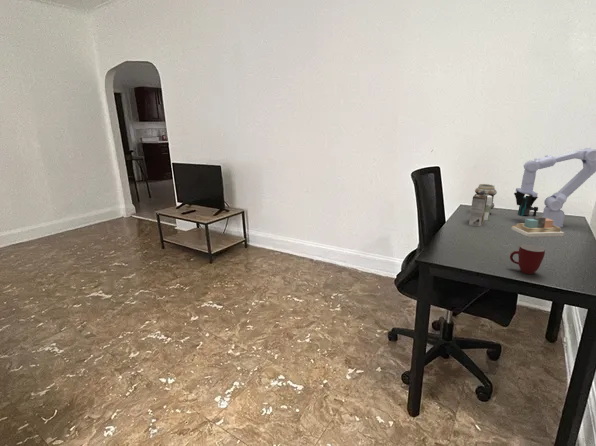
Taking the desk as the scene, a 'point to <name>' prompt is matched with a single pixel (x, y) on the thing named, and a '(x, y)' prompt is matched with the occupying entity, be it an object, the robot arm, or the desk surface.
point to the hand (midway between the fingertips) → (523, 206)
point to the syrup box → (488, 207)
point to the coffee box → (478, 209)
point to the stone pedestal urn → (486, 191)
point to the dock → (538, 233)
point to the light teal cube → (531, 223)
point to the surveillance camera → (525, 211)
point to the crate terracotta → (548, 223)
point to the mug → (529, 258)
